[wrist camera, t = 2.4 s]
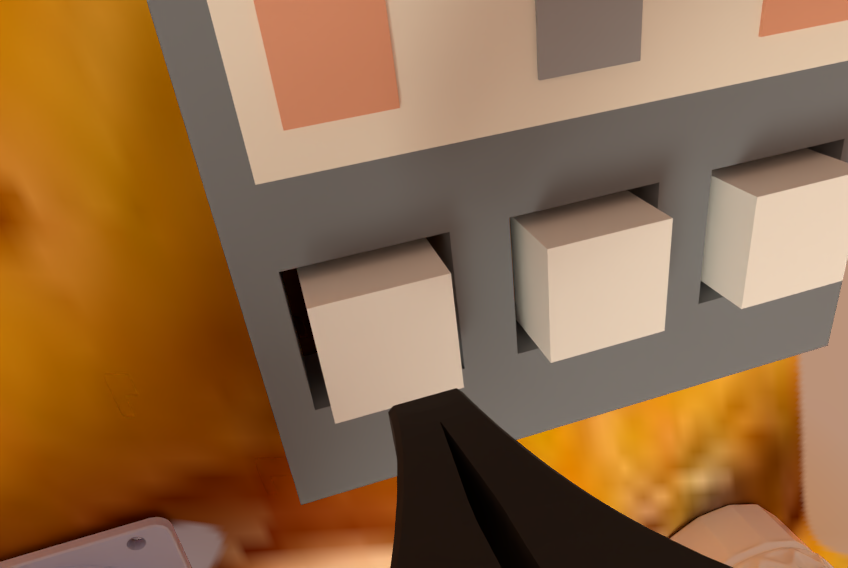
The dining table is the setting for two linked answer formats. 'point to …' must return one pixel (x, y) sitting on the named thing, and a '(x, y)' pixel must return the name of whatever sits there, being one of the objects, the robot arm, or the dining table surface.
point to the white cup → (747, 539)
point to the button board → (494, 175)
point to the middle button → (591, 273)
